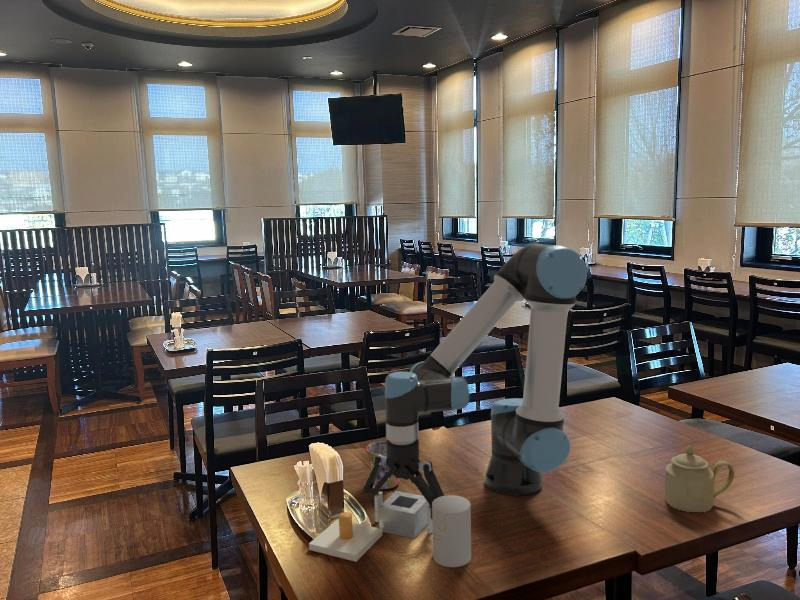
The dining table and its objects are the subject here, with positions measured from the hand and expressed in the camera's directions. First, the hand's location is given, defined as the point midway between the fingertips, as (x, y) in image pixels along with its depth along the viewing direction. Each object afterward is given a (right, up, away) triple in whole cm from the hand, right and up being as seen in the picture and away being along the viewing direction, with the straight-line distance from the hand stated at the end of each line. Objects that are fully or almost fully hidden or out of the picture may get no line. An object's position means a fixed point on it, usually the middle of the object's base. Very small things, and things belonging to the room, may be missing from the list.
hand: (404, 525), depth 150 cm
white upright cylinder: (+10, -2, -14) cm, 17 cm away
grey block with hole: (0, 0, 0) cm, 0 cm away
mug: (-6, +3, +24) cm, 25 cm away
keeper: (-13, -2, -7) cm, 15 cm away
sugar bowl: (+72, +3, +8) cm, 73 cm away
